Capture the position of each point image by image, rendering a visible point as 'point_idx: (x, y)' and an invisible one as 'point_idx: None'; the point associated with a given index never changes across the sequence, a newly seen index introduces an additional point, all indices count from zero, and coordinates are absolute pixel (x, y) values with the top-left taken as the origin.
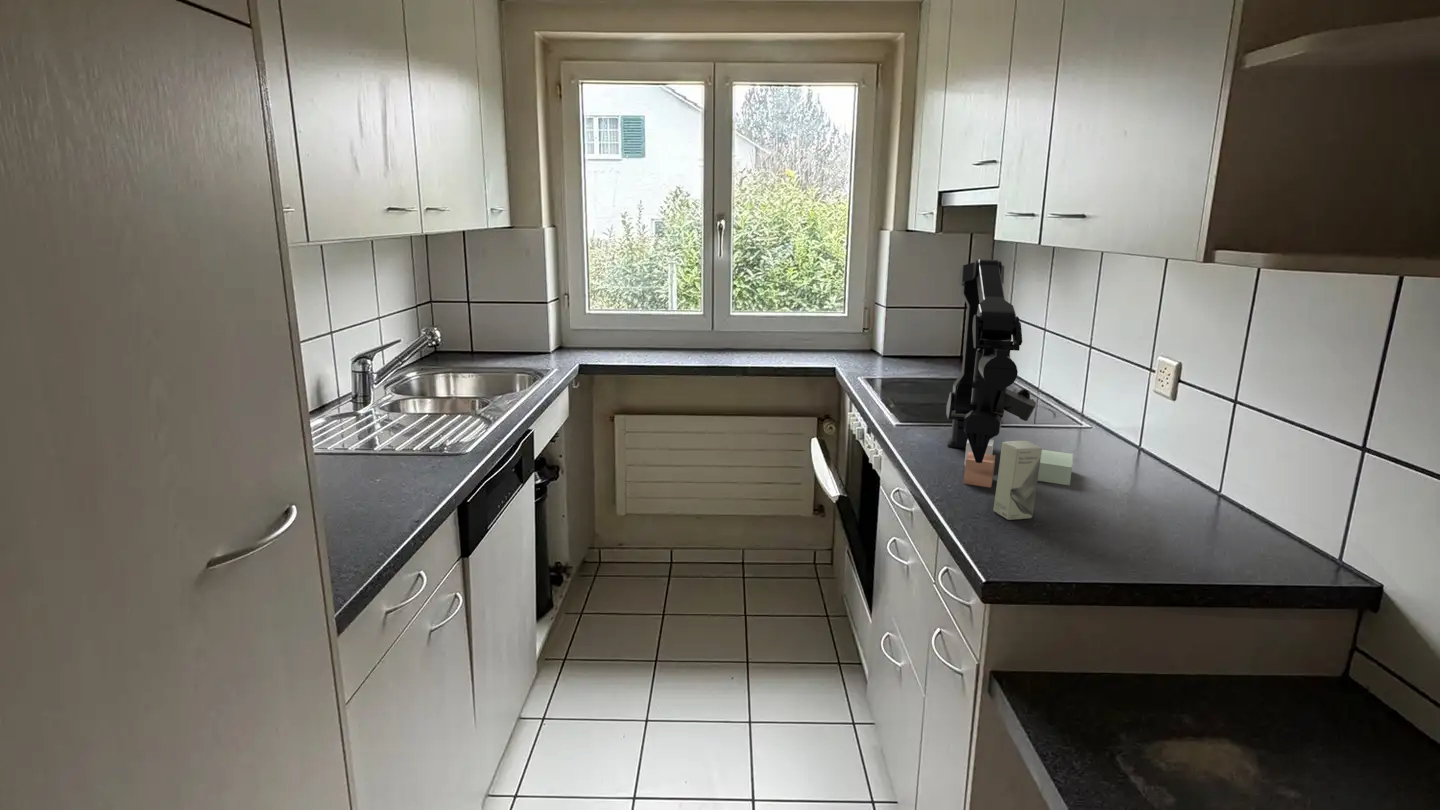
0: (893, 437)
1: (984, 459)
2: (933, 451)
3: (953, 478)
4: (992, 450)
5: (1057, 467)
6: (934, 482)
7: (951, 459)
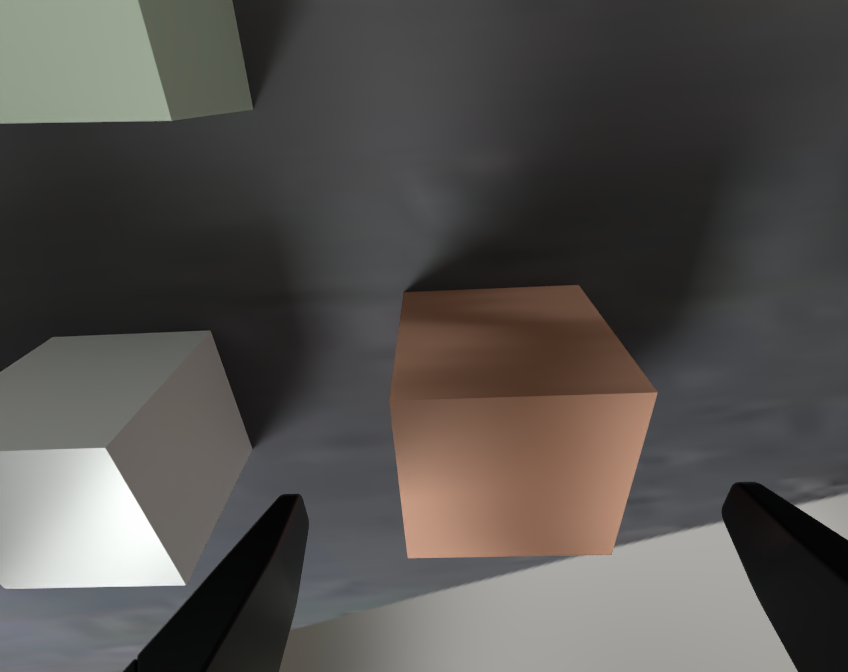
0: (98, 669)
1: (568, 461)
2: None
3: None
4: (14, 393)
5: None
6: None
7: None
